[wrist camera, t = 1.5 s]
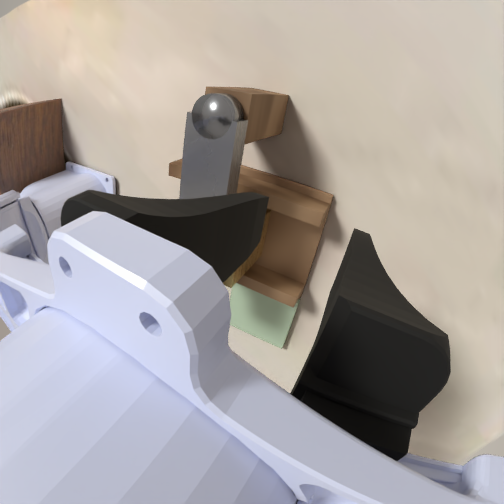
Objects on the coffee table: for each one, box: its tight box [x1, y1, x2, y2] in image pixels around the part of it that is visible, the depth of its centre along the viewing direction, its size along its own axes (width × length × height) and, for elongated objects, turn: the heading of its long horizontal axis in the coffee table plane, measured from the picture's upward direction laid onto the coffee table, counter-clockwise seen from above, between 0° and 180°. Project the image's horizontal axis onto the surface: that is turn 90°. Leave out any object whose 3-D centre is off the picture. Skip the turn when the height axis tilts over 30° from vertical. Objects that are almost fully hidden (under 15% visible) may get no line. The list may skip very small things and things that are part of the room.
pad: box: [230, 283, 300, 349], centre depth 28 cm, size 6×6×1 cm
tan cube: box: [223, 209, 271, 288], centre depth 22 cm, size 4×4×5 cm
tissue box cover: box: [0, 99, 65, 195], centre depth 32 cm, size 26×14×10 cm, turn 85°
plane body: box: [169, 87, 334, 308], centre depth 21 cm, size 12×15×6 cm
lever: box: [179, 93, 248, 199], centre depth 18 cm, size 3×14×1 cm, turn 170°
